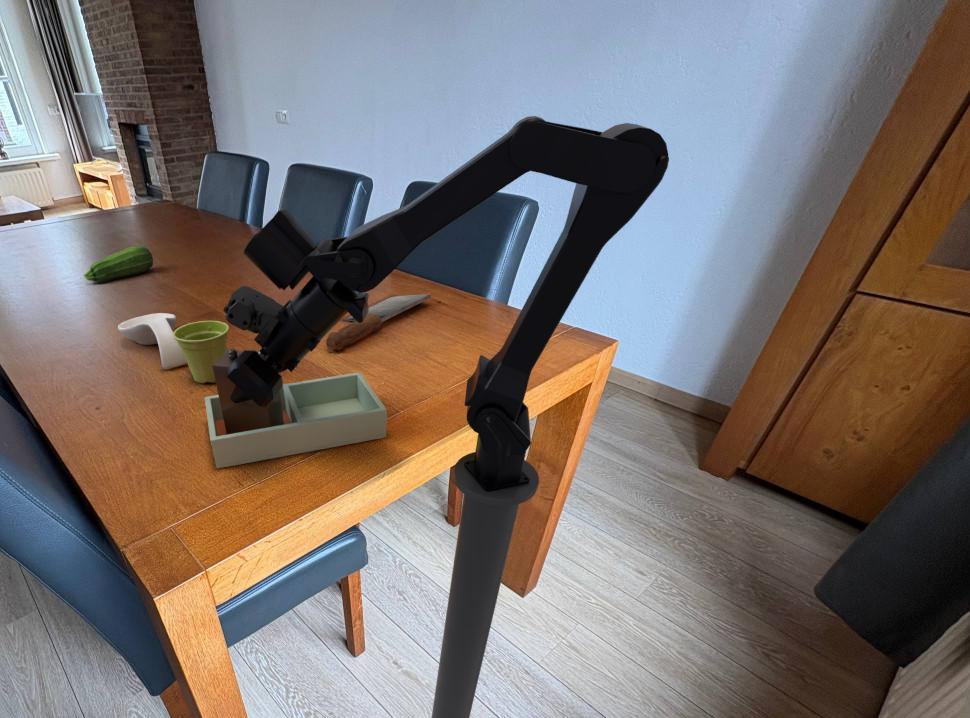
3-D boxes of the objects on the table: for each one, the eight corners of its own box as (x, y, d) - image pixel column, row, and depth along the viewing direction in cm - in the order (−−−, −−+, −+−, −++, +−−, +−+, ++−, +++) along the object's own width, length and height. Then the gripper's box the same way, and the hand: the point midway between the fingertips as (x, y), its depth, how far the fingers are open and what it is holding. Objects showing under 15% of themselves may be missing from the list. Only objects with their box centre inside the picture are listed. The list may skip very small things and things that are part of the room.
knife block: (241, 421, 77) (225, 340, 69) (284, 425, 76) (273, 343, 68) (227, 439, 73) (209, 356, 66) (272, 444, 72) (260, 359, 64)
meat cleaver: (391, 296, 123) (391, 279, 120) (432, 305, 117) (433, 287, 114) (296, 344, 103) (294, 324, 101) (339, 357, 97) (338, 337, 95)
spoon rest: (117, 337, 109) (106, 303, 105) (170, 324, 114) (162, 292, 109) (147, 376, 93) (136, 339, 89) (208, 360, 98) (200, 323, 93)
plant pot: (173, 379, 92) (161, 332, 86) (214, 361, 97) (205, 316, 92) (206, 393, 87) (195, 345, 81) (247, 373, 92) (239, 327, 87)
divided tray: (386, 437, 74) (387, 409, 71) (216, 468, 69) (210, 440, 66) (360, 397, 83) (360, 372, 80) (210, 423, 79) (204, 396, 76)
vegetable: (148, 239, 145) (78, 254, 135) (159, 265, 147) (91, 281, 137) (142, 248, 151) (74, 263, 141) (153, 272, 153) (87, 289, 143)
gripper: (285, 246, 67) (223, 325, 76) (226, 291, 52) (159, 381, 62) (346, 309, 70) (279, 377, 79) (305, 367, 55) (230, 442, 65)
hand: (240, 391), depth 71 cm, fingers closed on knife block, 5 cm apart
